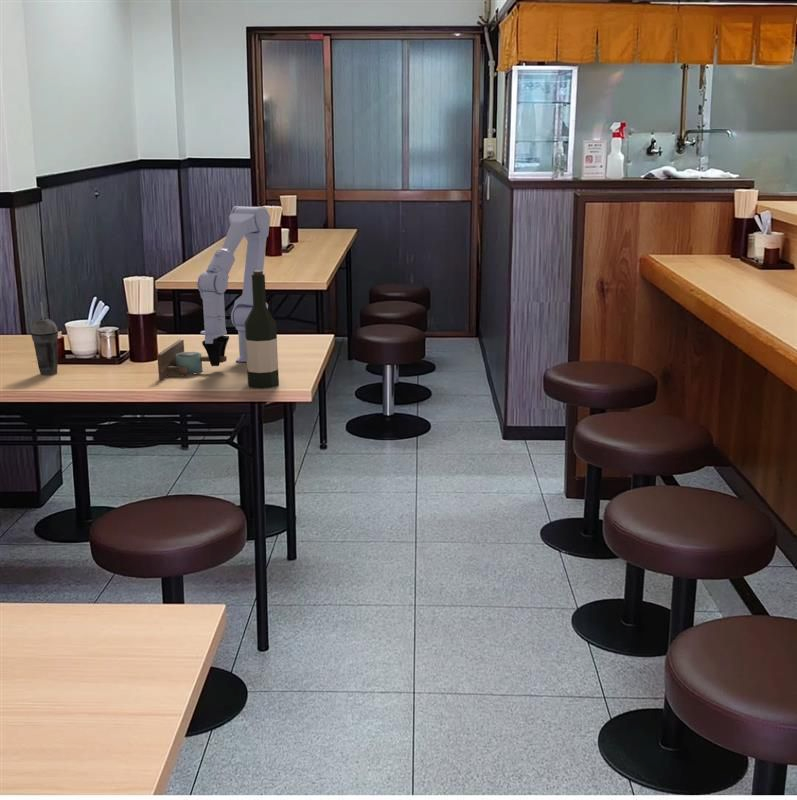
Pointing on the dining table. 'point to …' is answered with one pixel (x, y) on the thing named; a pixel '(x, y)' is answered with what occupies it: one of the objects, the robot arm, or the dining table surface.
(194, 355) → the pot
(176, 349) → the holder
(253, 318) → the wine bottle
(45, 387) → the dining table surface
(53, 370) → the beverage cup
